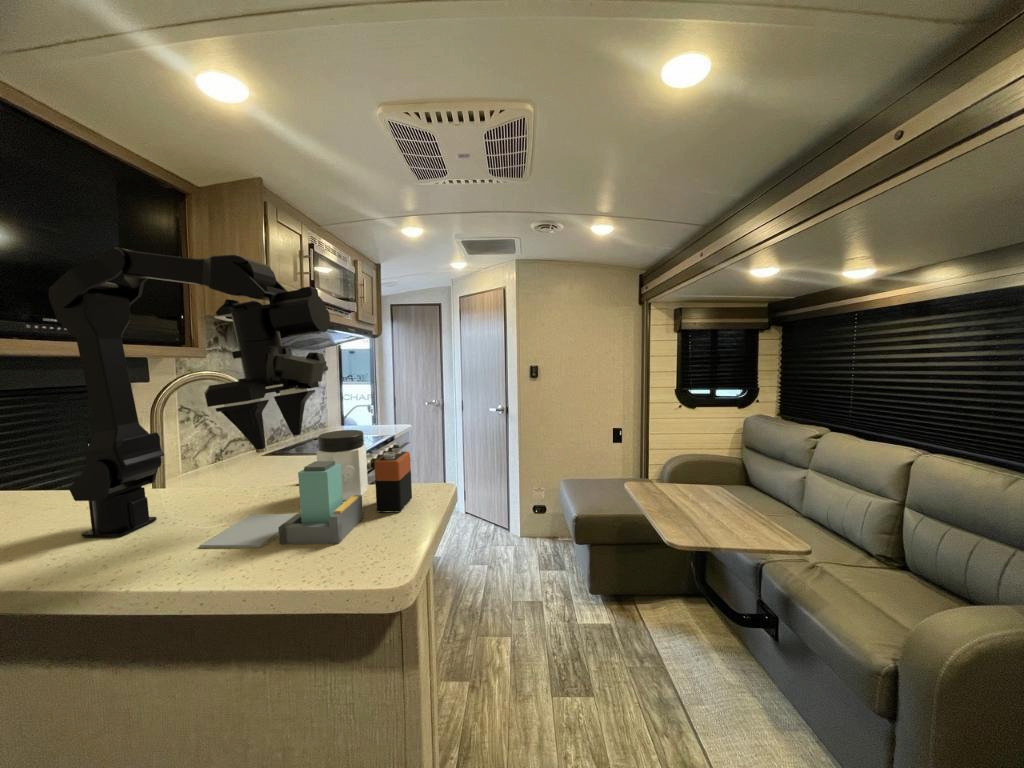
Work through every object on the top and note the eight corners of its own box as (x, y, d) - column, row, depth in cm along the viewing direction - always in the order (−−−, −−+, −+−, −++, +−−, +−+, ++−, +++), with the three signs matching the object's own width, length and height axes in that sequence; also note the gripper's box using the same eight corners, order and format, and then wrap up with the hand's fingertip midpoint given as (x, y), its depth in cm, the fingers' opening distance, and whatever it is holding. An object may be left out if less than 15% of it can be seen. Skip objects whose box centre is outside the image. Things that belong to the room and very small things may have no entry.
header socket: (279, 543, 59) (277, 515, 59) (311, 518, 68) (309, 493, 68) (338, 543, 59) (336, 514, 58) (363, 518, 68) (361, 493, 67)
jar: (323, 505, 74) (318, 440, 73) (316, 493, 80) (312, 433, 79) (373, 495, 78) (370, 434, 77) (363, 484, 85) (360, 427, 84)
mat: (199, 547, 58) (199, 545, 58) (251, 516, 69) (250, 514, 69) (260, 547, 58) (260, 544, 58) (302, 516, 69) (302, 513, 69)
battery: (375, 513, 70) (372, 456, 69) (390, 498, 77) (387, 446, 76) (400, 513, 70) (397, 456, 69) (412, 498, 76) (410, 446, 75)
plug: (302, 537, 61) (297, 468, 60) (317, 524, 66) (313, 460, 65) (331, 536, 61) (326, 468, 60) (344, 524, 65) (340, 460, 65)
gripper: (272, 332, 52) (296, 450, 54) (339, 335, 71) (355, 423, 72) (190, 345, 53) (215, 461, 54) (277, 345, 71) (295, 431, 73)
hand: (280, 441), depth 63 cm, fingers open, 9 cm apart
